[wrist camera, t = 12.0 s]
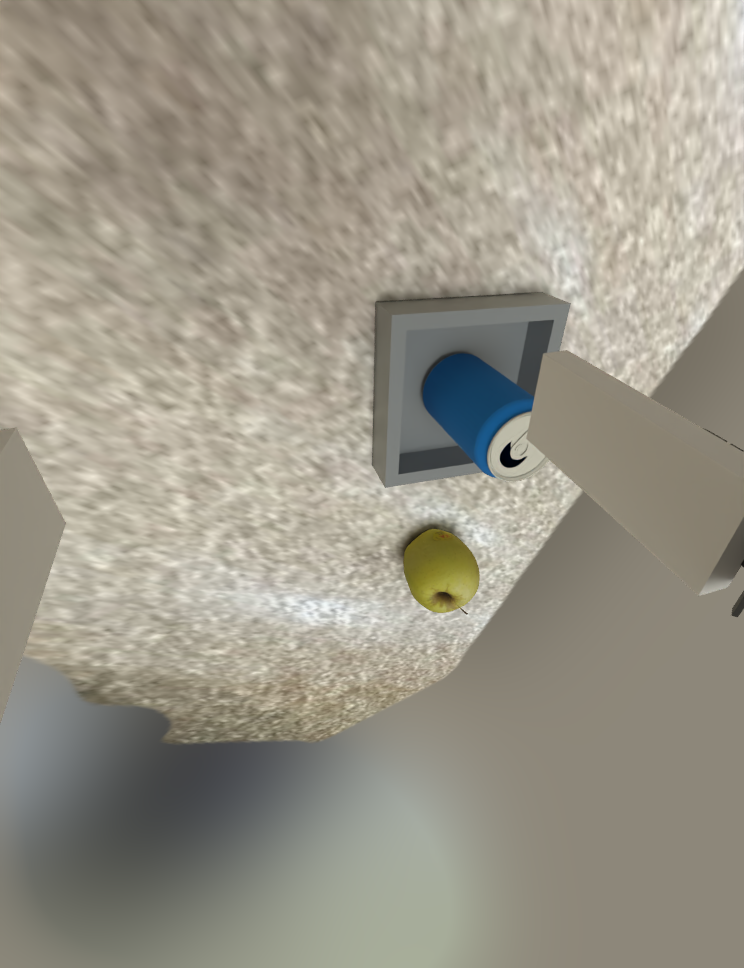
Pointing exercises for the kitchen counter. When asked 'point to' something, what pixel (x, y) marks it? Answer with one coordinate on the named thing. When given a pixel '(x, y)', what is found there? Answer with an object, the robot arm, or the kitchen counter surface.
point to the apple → (440, 571)
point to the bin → (428, 340)
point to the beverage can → (484, 416)
